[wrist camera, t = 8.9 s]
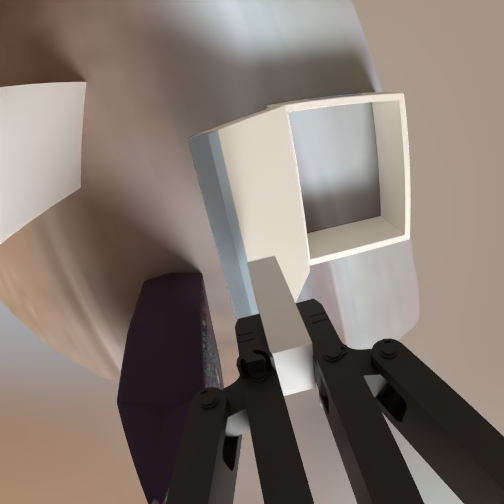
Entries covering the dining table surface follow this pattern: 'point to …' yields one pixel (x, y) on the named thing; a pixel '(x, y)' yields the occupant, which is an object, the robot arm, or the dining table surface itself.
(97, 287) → the dining table surface
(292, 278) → the lid
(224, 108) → the dining table surface
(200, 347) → the decorative box
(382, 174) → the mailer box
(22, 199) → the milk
